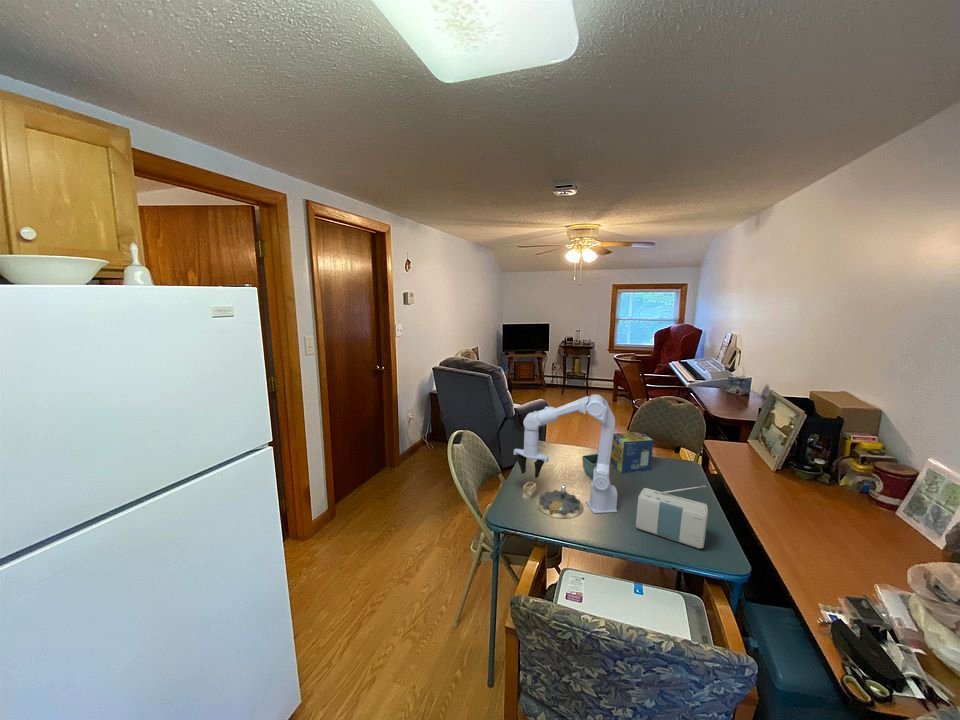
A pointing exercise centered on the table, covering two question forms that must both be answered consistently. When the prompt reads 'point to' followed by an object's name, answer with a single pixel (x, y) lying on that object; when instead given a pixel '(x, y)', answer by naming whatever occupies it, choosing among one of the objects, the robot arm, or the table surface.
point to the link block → (529, 490)
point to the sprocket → (560, 501)
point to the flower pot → (589, 464)
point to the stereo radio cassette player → (672, 517)
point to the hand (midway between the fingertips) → (530, 474)
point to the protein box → (631, 452)
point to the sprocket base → (557, 515)
